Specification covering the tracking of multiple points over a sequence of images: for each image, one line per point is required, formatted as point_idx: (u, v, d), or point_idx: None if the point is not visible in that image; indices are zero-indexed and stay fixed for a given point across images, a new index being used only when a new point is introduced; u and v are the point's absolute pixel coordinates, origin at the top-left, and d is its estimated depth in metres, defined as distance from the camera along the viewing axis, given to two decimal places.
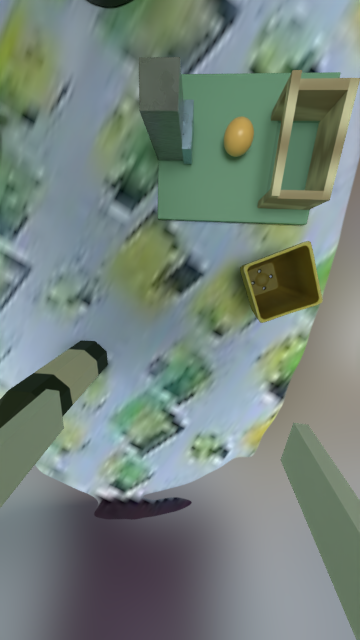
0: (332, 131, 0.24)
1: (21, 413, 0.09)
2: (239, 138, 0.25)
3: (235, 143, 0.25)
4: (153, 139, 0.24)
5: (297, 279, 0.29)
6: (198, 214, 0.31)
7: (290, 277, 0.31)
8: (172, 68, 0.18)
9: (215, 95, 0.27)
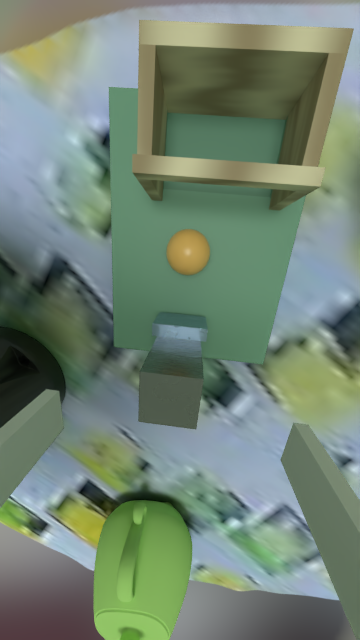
0: (207, 68, 0.12)
1: (21, 413, 0.09)
2: (198, 254, 0.16)
3: (202, 259, 0.16)
4: None
5: None
6: (269, 308, 0.20)
7: None
8: (152, 382, 0.12)
9: (132, 283, 0.21)
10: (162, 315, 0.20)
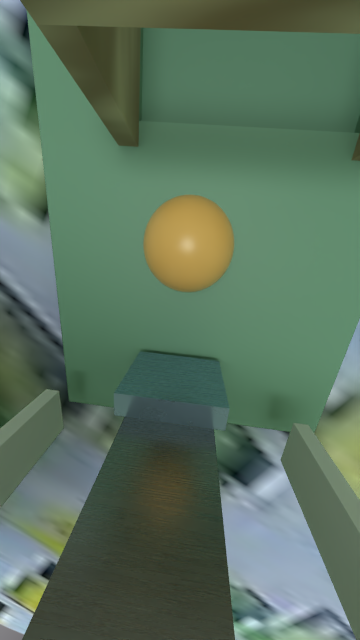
0: None
1: (21, 413, 0.09)
2: (212, 249, 0.07)
3: (219, 261, 0.07)
4: None
5: None
6: (333, 347, 0.11)
7: None
8: None
9: (91, 302, 0.12)
10: (141, 362, 0.11)
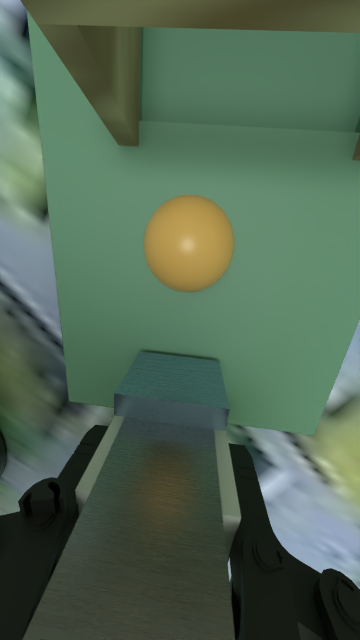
0: None
1: None
2: (212, 249, 0.07)
3: (219, 261, 0.07)
4: None
5: None
6: (333, 347, 0.11)
7: None
8: None
9: (91, 302, 0.12)
10: (141, 362, 0.11)
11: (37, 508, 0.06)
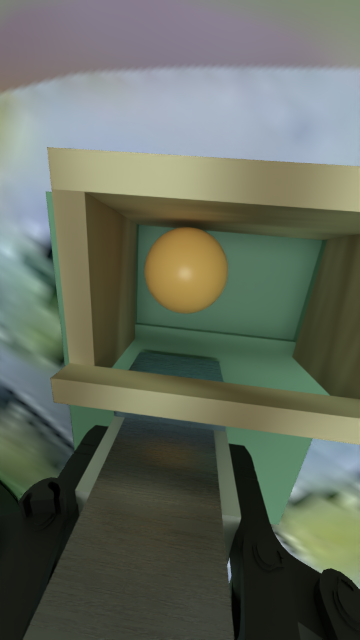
0: (193, 210, 0.07)
1: None
2: None
3: None
4: None
5: None
6: (289, 468, 0.14)
7: None
8: None
9: None
10: (141, 362, 0.11)
11: (36, 508, 0.06)
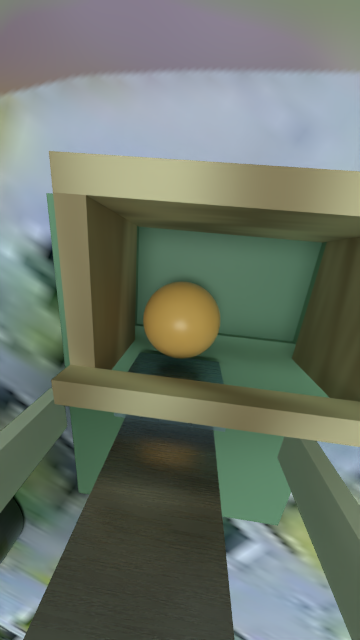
0: (193, 213, 0.07)
1: (26, 411, 0.09)
2: None
3: None
4: None
5: None
6: None
7: None
8: None
9: (98, 429, 0.15)
10: (141, 363, 0.11)
11: None
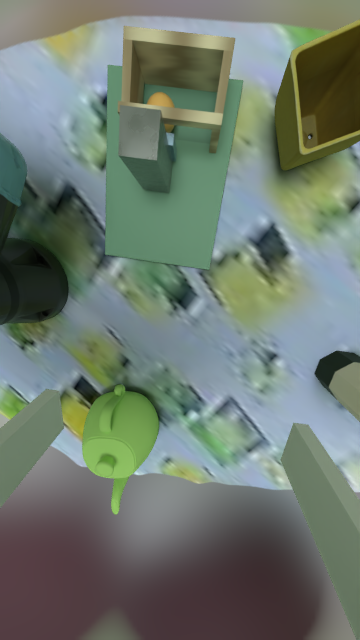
0: (162, 55, 0.22)
1: (21, 413, 0.09)
2: None
3: None
4: (164, 176, 0.24)
5: (324, 73, 0.21)
6: (211, 225, 0.30)
7: (313, 90, 0.23)
8: (127, 115, 0.18)
9: (119, 204, 0.30)
10: None
11: None
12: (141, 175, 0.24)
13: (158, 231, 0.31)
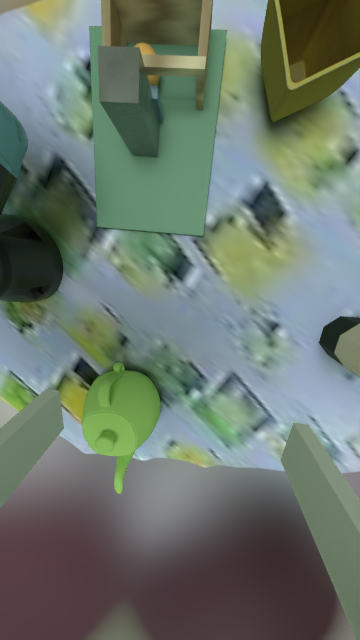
0: (142, 3, 0.21)
1: (21, 413, 0.09)
2: None
3: None
4: (150, 130, 0.23)
5: (309, 7, 0.20)
6: (203, 187, 0.29)
7: (299, 31, 0.22)
8: (106, 56, 0.18)
9: (108, 172, 0.30)
10: None
11: None
12: (126, 131, 0.23)
13: (149, 198, 0.30)
